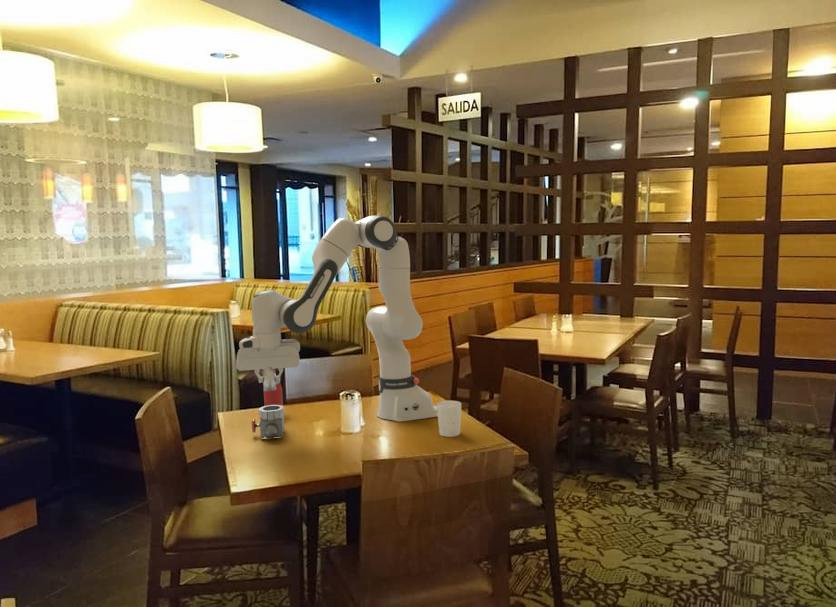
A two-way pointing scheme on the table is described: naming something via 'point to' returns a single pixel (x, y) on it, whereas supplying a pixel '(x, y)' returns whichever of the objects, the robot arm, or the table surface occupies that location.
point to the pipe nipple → (269, 379)
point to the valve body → (270, 421)
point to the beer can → (274, 396)
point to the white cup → (449, 418)
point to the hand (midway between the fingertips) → (269, 381)
